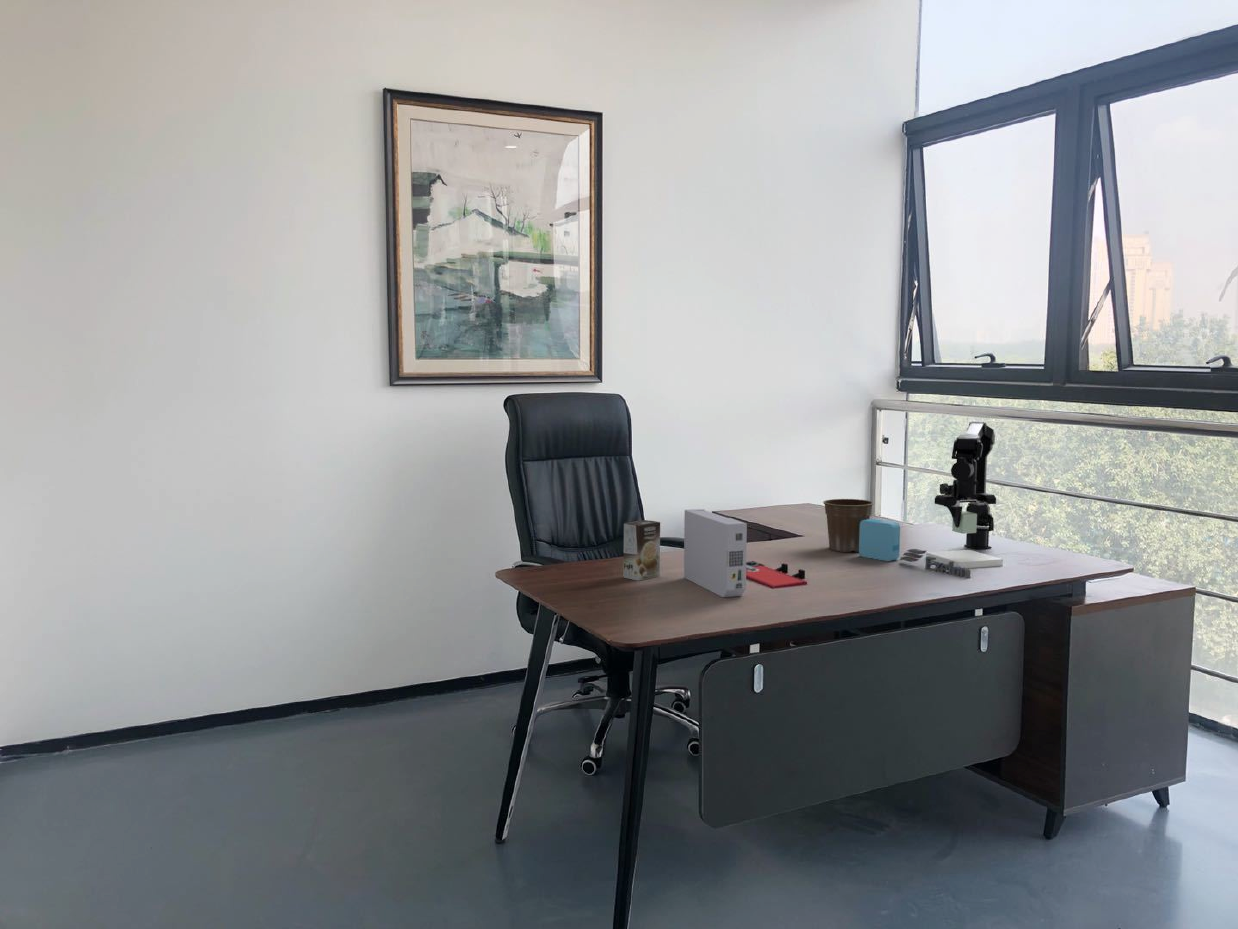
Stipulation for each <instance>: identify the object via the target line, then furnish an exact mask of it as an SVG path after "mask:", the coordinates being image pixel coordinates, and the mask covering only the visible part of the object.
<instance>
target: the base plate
mask: <svg viewBox="0 0 1238 929" xmlns="http://www.w3.org/2000/svg"><path fill="white" fill-rule="evenodd" d="M925 554H926V555H925V558H926V557H929V556H930V557H935V558H936V560H931V562H939V563H944V564H949V562H951V561H953V562H954V567H958V566H959V567H961V568H968V569H974V568H986V567H987V568H988V567H989V568H990V567H1000V566H1001V567H1003V564H1004V561H1003V560H1004V559H1003V558H1000V557H996V556H993V555H990V554H987V553H986V554H985V553H982V552H980V551H979V552H978V551H975V550H971V549H961V550H960V549H957V550H944V551H943V550H942V551H941V550H940V551H928V552H927V551H926V552H925Z"/></svg>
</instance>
